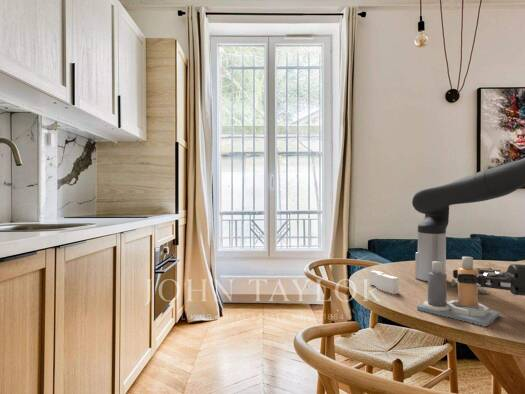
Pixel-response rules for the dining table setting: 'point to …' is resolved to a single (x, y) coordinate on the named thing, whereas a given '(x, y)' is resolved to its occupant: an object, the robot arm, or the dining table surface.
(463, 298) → the orange lotion bottle
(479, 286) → the clamp
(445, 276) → the bottle holder tray
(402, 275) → the dining table surface
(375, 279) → the white stepped block
